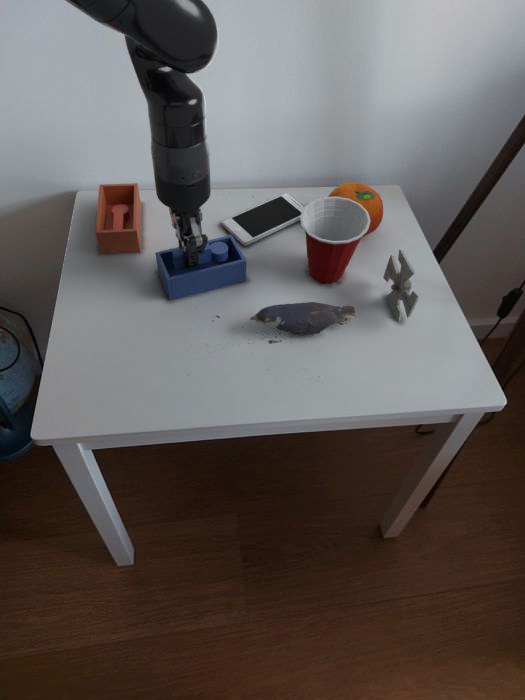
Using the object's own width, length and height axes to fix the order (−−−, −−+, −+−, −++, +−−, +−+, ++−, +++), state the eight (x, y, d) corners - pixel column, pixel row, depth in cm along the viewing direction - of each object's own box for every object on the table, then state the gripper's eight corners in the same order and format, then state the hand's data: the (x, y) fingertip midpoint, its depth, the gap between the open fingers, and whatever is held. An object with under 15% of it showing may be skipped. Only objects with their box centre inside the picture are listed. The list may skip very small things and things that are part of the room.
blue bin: (169, 300, 82) (167, 280, 78) (158, 273, 86) (155, 252, 82) (245, 281, 86) (246, 260, 82) (231, 255, 89) (232, 234, 86)
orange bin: (140, 251, 89) (136, 231, 85) (100, 253, 88) (95, 232, 84) (140, 204, 96) (137, 183, 93) (104, 205, 96) (99, 184, 92)
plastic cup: (284, 256, 90) (291, 199, 80) (341, 247, 92) (354, 190, 83) (304, 300, 84) (314, 244, 74) (364, 289, 86) (382, 234, 76)
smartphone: (221, 224, 94) (221, 220, 93) (286, 196, 100) (286, 192, 99) (244, 246, 91) (244, 242, 90) (309, 215, 97) (310, 211, 96)
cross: (411, 330, 81) (431, 286, 73) (395, 332, 81) (414, 288, 73) (387, 284, 87) (403, 238, 79) (373, 286, 87) (387, 240, 79)
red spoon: (129, 244, 89) (126, 232, 86) (111, 245, 88) (108, 232, 86) (130, 211, 94) (127, 199, 92) (113, 212, 94) (110, 199, 91)
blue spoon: (177, 273, 81) (175, 260, 79) (171, 260, 82) (170, 247, 80) (230, 260, 83) (230, 246, 81) (224, 248, 85) (224, 235, 83)
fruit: (310, 223, 96) (316, 187, 89) (348, 203, 100) (356, 167, 94) (350, 255, 91) (360, 218, 85) (389, 232, 95) (400, 196, 89)
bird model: (356, 335, 80) (362, 314, 76) (251, 344, 78) (252, 323, 74) (349, 314, 83) (355, 293, 79) (247, 321, 80) (248, 300, 76)
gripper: (140, 142, 71) (154, 239, 85) (169, 201, 63) (179, 296, 77) (192, 133, 73) (198, 229, 87) (225, 189, 65) (226, 284, 79)
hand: (189, 260), depth 82 cm, fingers closed on blue spoon
